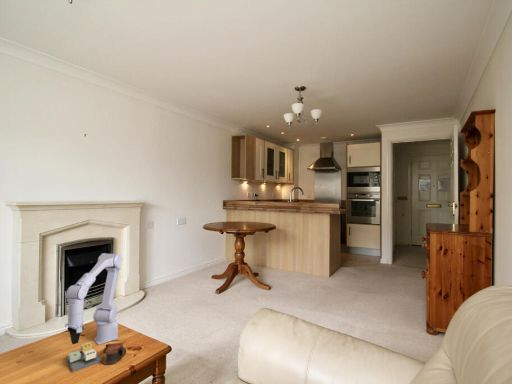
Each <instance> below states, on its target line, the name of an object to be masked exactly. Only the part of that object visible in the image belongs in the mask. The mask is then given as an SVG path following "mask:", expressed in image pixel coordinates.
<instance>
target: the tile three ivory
mask: <svg viewBox="0 0 512 384" xmlns="http://www.w3.org/2000/svg"><path fill="white" fill-rule="evenodd" d="M94 349H95V348H94ZM94 349H91V350H88V351H85V352H84V358H85V360H86V361H87V360H90V359H93V358H95V357H96V352H97V351H96V349H95V350H94Z"/></svg>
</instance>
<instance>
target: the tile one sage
mask: <svg viewBox="0 0 512 384" xmlns="http://www.w3.org/2000/svg"><path fill="white" fill-rule="evenodd" d="M67 356H68V359H69V361H70V363H71V362H74V361H77V360H79V359H81V353H80V350H79V349H78V350H76V351H72V352H69V353H67Z"/></svg>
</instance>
